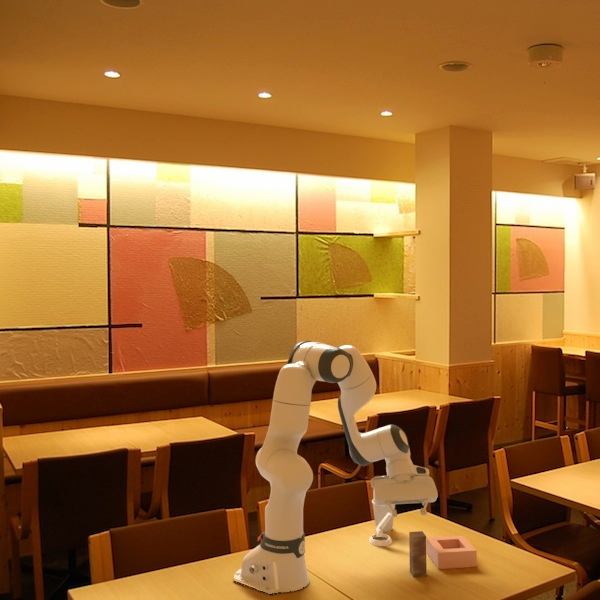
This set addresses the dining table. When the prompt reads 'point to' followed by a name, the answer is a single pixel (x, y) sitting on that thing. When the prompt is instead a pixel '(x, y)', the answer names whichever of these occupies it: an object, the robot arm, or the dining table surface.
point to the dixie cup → (382, 515)
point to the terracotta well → (451, 552)
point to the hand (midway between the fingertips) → (409, 515)
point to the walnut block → (417, 553)
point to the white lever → (381, 533)
